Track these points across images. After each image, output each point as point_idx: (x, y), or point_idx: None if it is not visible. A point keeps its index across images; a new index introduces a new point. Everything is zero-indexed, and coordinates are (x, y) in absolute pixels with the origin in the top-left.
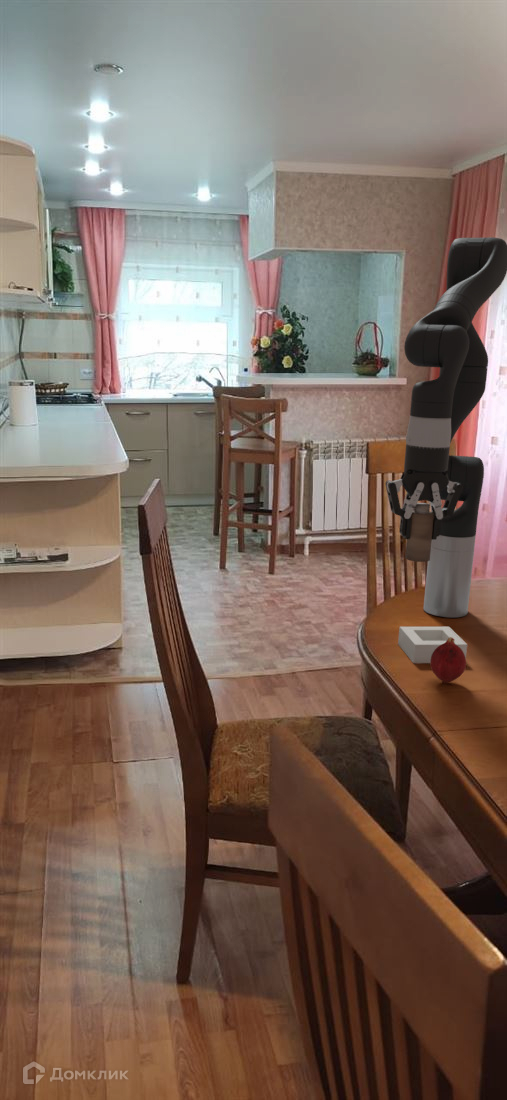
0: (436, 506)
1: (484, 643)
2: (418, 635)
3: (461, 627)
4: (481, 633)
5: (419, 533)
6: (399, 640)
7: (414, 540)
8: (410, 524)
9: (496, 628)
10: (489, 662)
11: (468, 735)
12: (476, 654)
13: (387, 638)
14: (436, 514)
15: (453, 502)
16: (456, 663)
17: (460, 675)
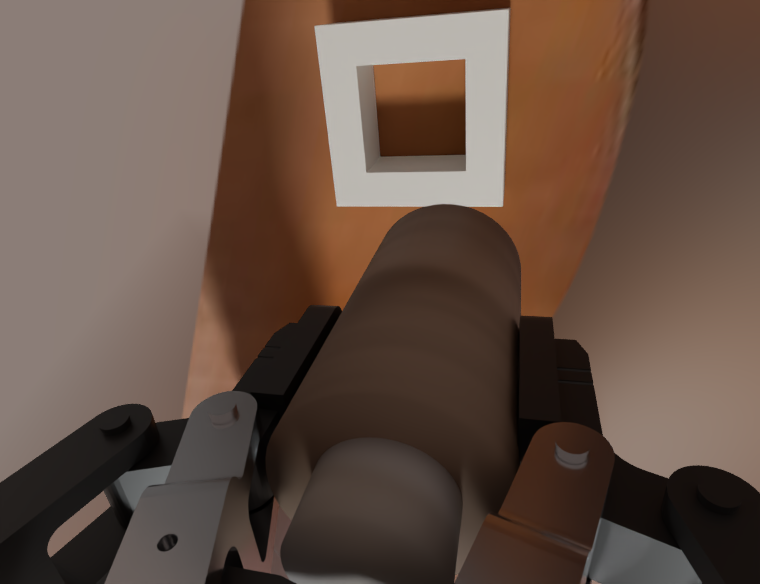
0: (214, 480)
1: (248, 194)
2: (447, 166)
3: (286, 310)
4: (243, 267)
5: (451, 294)
6: (504, 180)
7: (487, 283)
8: (522, 384)
9: (201, 299)
10: (261, 34)
11: None
12: (286, 104)
13: (521, 236)
14: (249, 426)
15: (7, 508)
16: None
17: None
